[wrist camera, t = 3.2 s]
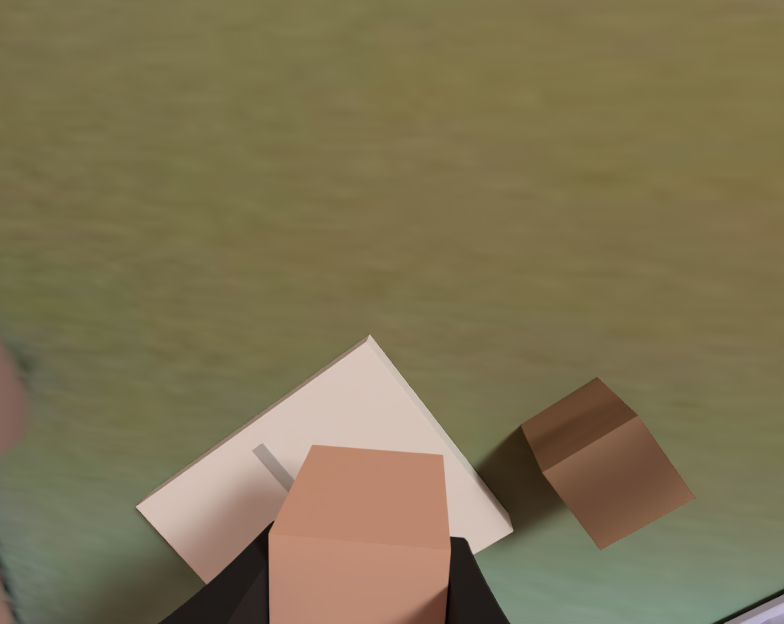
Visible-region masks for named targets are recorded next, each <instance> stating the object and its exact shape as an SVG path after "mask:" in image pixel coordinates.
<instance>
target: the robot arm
mask: <svg viewBox="0 0 784 624" xmlns="http://www.w3.org/2000/svg"><path fill="white" fill-rule="evenodd" d="M274 522H275V521H272V522H271V523H270V524H269V525H268V526H267V527H266V528H265V529H264V530H263V531H262V532H261V533H260V534H259V535H258V536H257V537H256V538H255V539H254V540H253V541H252V542H251V543H250V544H249V545H248V546H247V547H246V548H245V549H244V550H243V551H242V552H241V553H240V554H239V555H238V556H237V557H236V558H235V559H234V560H233V561H232V562H231V563H230V564H229V565H228V566H227V567H225V568H224V569H223V570H222V571H221V572H220V573H219V574H218V575H217V576H216V577H215V578H214V579H212V580H211V581H210V582H209V583H208V584H207V585H206V586H204V587H203V588H202V589H201V590H200V591H199V592H197V593H196V594H195V595H194V596H193V597H192V598H191V599H189V600H188V601H187V602H186V603H184V604H183V605H182V606H181V607H179V608H178V609H177V610H176V611H174V612H173V613H172V614H171V615H169V616H168V617H167V618H165V619H164V620H162V621H161V622H160V623H158V624H270V612H269V532H270V530H271V528H272V526H273V524H274ZM450 545H451V555H450V567H449V579H448V591H447V602H446V614H445V624H510V623H509V621H508V619H507V618H506V616H505V614H504V613H503V611H502V609H501V608H500V606H499V604H498V603H497V601H496V599H495V597H494V595H493V594H492V592H491V590H490V588H489V586H488V585H487V583H486V581H485V579H484V577H483V575H482V573H481V571H480V569H479V567H478V565H477V562H476V560H475V558H474V556H473V553H472V551H471V549H470V546H469V543H468V541H467V540H466V539H465V538H463V537H452V536H450ZM724 624H784V594H783V595H781V596H779V597H777V598H775V599H773V600H771V601H769V602H767V603H765V604H763V605H761V606H759V607H757V608H755V609H753V610H751V611H749V612H746V613H744V614H742V615H740V616H738V617H736V618H734V619H732V620H730V621H728V622H726V623H724Z"/></svg>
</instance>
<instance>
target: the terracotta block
mask: <svg viewBox="0 0 784 624" xmlns="http://www.w3.org/2000/svg"><path fill="white" fill-rule="evenodd" d="M450 555H451V545H450V533H449V520H448V508H447V496H446V484H445V472H444V460H443V455H439V454H427V453H414V452H401V451H388V450H375V449H362V448H349V447H336V446H323V445H312V446H311V448H310V450H309V452H308V454H307V457H306V459H305V461H304V463H303V465H302V467H301V469H300V471H299V473H298V475H297V477H296V479H295V481H294V483H293V485H292V487H291V489H290V491H289V493H288V495H287V497H286V499H285V501H284V503H283V505H282V507H281V510H280V512H279V514H278V516H277V518H276V520H275V522H274V524H273V526H272V528H271V530H270V532H269V612H270V624H445V614H446V602H447V591H448V579H449V567H450Z"/></svg>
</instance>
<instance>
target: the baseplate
mask: <svg viewBox="0 0 784 624" xmlns="http://www.w3.org/2000/svg"><path fill="white" fill-rule="evenodd" d="M312 445H323V446H336V447H349V448H362V449H375V450H388V451H401V452H414V453H427V454H439V455H443V460H444V472H445V484H446V496H447V508H448V520H449V533H450V536H452V537H463V538H465V539H466V540H467V541H468V543H469V546H470V549H471V551H472V553H473V555H474V554H475V553H477V552H479V551H480V550H482V549H484V548H486V547H487V546H489V545H491V544H493V543H494V542H496V541H498V540H499V539H501V538H503V537H505V536H506V535H508V534H510V533H512V532H513V528H512V524H511V521H510V517H509V514H508V513H507V511H506V510H505V509H504V508H503V506H502V505H501V504H500V502H499V501H498V500H497V499H496V497H495V496H494V495H493V493H492V492H491V491H490V489H489V488H488V487H487V486H486V484H485V483H484V482H483V480H482V479H481V478H480V476H479V475H478V474H477V473H476V471H475V470H474V469H473V467H472V466H471V465H470V464H469V462H468V461H467V460H466V458H465V457H464V456H463V454H462V453H461V452H460V451H459V449H458V448H457V447H456V445H455V444H454V443H453V442H452V440H451V439H450V438H449V436H448V435H447V434H446V432H445V431H444V430H443V429H442V427H441V426H440V425H439V423H438V422H437V421H436V420H435V418H434V417H433V416H432V414H431V413H430V412H429V410H428V409H427V408H426V407H425V405H424V404H423V403H422V401H421V400H420V399H419V398H418V396H417V395H416V394H415V392H414V391H413V390H412V388H411V387H410V386H409V385H408V383H407V382H406V381H405V379H404V378H403V377H402V376H401V374H400V373H399V372H398V370H397V369H396V368H395V366H394V365H393V364H392V363H391V361H390V360H389V359H388V357H387V356H386V355H385V354H384V352H383V351H382V350H381V348H380V347H379V346H378V344H377V343H376V342H375V341H374V339H373V338H372V337H371V335H370V334H369V335H368V336H367V337H365V338H364V339H362V340H361V341H360V342H358V343H357V344H356V345H354V346H353V347H351V348H350V349H349V350H347V351H346V352H344V353H343V354H342V355H340V356H339V357H337V358H336V359H335V360H333V361H332V362H330V363H329V364H328V365H326V366H325V367H324V368H322V369H321V370H319V371H318V372H317V373H315V374H314V375H312V376H311V377H310V378H308V379H307V380H305V381H304V382H303V383H301V384H300V385H299V386H297V387H296V388H294V389H293V390H292V391H290V392H289V393H287V394H286V395H285V396H283V397H282V398H280V399H279V400H278V401H276V402H275V403H274V404H272V405H271V406H269V407H268V408H267V409H265V410H264V411H262V412H261V413H260V414H258V415H257V416H255V417H254V418H253V419H251V420H250V421H248V422H247V423H246V424H244V425H243V426H242V427H240V428H239V429H237V430H236V431H235V432H233V433H232V434H230V435H229V436H228V437H226V438H225V439H223V440H222V441H221V442H219V443H218V444H217V445H215V446H214V447H212V448H211V449H210V450H208V451H207V452H205V453H204V454H203V455H201V456H200V457H198V458H197V459H196V460H194V461H193V462H191V463H190V464H189V465H187V466H186V467H185V468H183V469H182V470H180V471H179V472H178V473H176V474H175V475H173V476H172V477H171V478H169V479H168V480H166V481H165V482H164V483H162V484H161V485H160V486H158V487H157V488H155V489H154V490H153V491H151V492H150V493H149V494H148V495H147V496H146V497H145V498H144V499H143V500H142V501H141V502H140V503H139V504H138V505H137V506H136V508H137V509H138V510H139V511H140V512H141V513H142V514H143V515H144V516H145V517H146V519H147V520H148V521H149V522H150V523H151V524H152V525H153V526H154V527H155V528H156V530H157V531H158V532H159V533H160V534H161V535H162V536H163V537H164V538H165V539H166V540H167V542H168V543H169V544H170V545H171V546H172V547H173V548H174V549H175V550H176V551H177V553H178V554H179V555H180V556H181V557H182V558H183V559H184V560H185V561H186V562H187V563H188V565H189V566H190V567H191V568H192V569H193V570H194V571H195V572H196V573H197V574H198V576H199V577H200V578H201V579H202V580H203V581H204V582H205V583H206V584H208V583H209V582H210V581H211V580H212V579H214V578H215V577H216V576H217V575H218V574H219V573H220V572H221V571H222V570H223V569H224V568H225V567H227V566H228V565H229V564H230V563H231V562H232V561H233V560H234V559H235V558H236V557H237V556H238V555H239V554H240V553H241V552H242V551H243V550H244V549H245V548H246V547H247V546H248V545H249V544H250V543H251V542H252V541H253V540H254V539H255V538H256V537H257V536H258V535H259V534H260V533H261V532H262V531H263V530H264V529H265V528H266V527H267V526H268V525H269V524H270V523H271V522H272V521H275V520H276V518H277V516H278V514H279V512H280V510H281V507H282V505H283V503H284V501H285V499H286V497H287V495H288V493H289V491H290V489H291V487H292V485H293V483H294V481H295V479H296V477H297V475H298V473H299V471H300V469H301V467H302V465H303V463H304V461H305V459H306V457H307V454H308V452H309V450H310V448H311V446H312Z"/></svg>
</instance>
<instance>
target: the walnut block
mask: <svg viewBox="0 0 784 624" xmlns="http://www.w3.org/2000/svg"><path fill="white" fill-rule="evenodd" d="M521 428H522V430H523V432H524V434H525V436H526V438H527V441H528V443H529V445H530V447H531V449H532V451H533V454H534V456H535V458H536V460H537V462H538V465H539V467H540V469H541V471H542V473H543V474H544V476H545V477H546V478H547V480H548V481H549V482H550V484H551V485H552V486H553V488H554V489H555V490H556V492H557V493H558V494H559V496H560V497H561V498H562V500H563V501H564V502H565V504H566V505H567V506H568V508H569V509H570V510H571V512H572V513H573V514H574V516H575V517H576V518H577V520H578V521H579V522H580V524H581V525H582V526H583V528H584V529H585V530H586V532H587V533H588V534H589V536H590V537H591V538H592V540H593V541H594V542H595V544H596V545H597V546H598V548H599V549H600V550H601V549H603V548H605V547H607V546H609V545H610V544H612V543H614V542H616V541H618V540H620V539H621V538H623V537H625V536H627V535H629V534H631V533H632V532H634V531H636V530H638V529H640V528H642V527H643V526H645V525H647V524H649V523H651V522H652V521H654V520H656V519H658V518H660V517H662V516H663V515H665V514H667V513H669V512H671V511H673V510H674V509H676V508H678V507H680V506H682V505H684V504H685V503H687V502H689V501H691V500H693V499H695V496H694V495H693V494H692V492H691V491H690V489H689V488H688V486H687V485H686V484H685V482H684V481H683V479H682V478H681V476H680V475H679V473H678V472H677V471H676V469H675V468H674V466H673V465H672V463H671V462H670V461H669V459H668V458H667V456H666V455H665V453H664V452H663V451H662V449H661V448H660V446H659V445H658V443H657V442H656V441H655V439H654V438H653V436H652V435H651V433H650V432H649V430H648V429H647V428H646V426H645V425H644V423H643V422H642V420H641V419H640V418H639V416H638V415H637V414H636V413H635V412H634V411H633V410H632V409H631V408H629V407H628V406H627V405H626V404H625V403H624V402H623V401H622V400H621V399H620V398H619V397H618V396H617V395H616V394H615V393H613V392H612V391H611V390H610V389H609V388H608V387H607V386H606V385H605V384H604V383H603V382H602V381H601V380H600V379H598V378H597V377H596V378H595V379H593V380H592V381H590V382H589V383H587V384H585V385H584V386H582V387H581V388H579V389H577V390H576V391H574V392H573V393H571V394H569V395H568V396H566V397H565V398H563V399H561V400H560V401H558V402H557V403H555V404H553V405H552V406H550V407H549V408H547V409H545V410H544V411H542V412H541V413H539V414H537V415H536V416H534V417H533V418H531V419H529V420H528V421H526V422H525V423H523V424H522V425H521Z"/></svg>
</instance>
